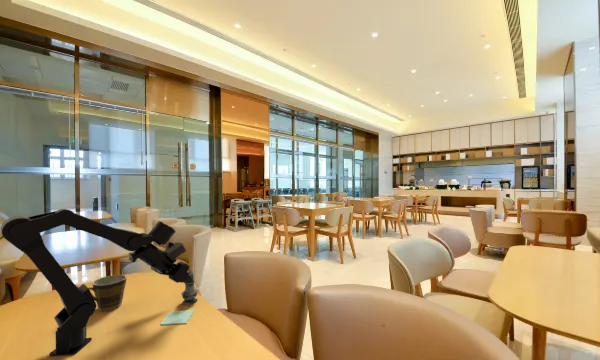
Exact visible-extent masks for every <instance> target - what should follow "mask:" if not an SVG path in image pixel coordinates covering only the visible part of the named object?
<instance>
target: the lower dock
mask: <svg viewBox="0 0 600 360" xmlns="http://www.w3.org/2000/svg"><path fill="white" fill-rule="evenodd" d="M194 312H195V310H194V309H191V310H190V309H189V310H188V309H187V310H173V311H172V310H171V311H170V312H169V313H168V314H167V315H166V316H165V318H164V319H163V320H162V322H161V323H160V326H165V325H166V326H169V325H186V324H188V322H189V321H190V319H191V317H192V316H193V314H194Z"/></svg>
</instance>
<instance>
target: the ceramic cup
mask: <svg viewBox="0 0 600 360" xmlns="http://www.w3.org/2000/svg"><path fill="white" fill-rule="evenodd" d="M126 284H127V275H126V274H113V275H107V276H104V277H100V278H98V279H95V280H93V281H92V286H91V287H90V286H89V287H88V288H89V290H90V291H92V292H93V293H94V296H95V297H96V298H97V300H95V302H96V306H97V309H98V311H99V312H110V311H113V310H116V309H118V308H120V306H122V304H123V299H124V294H125V289H126Z"/></svg>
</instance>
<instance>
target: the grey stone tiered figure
mask: <svg viewBox="0 0 600 360" xmlns="http://www.w3.org/2000/svg"><path fill="white" fill-rule="evenodd" d="M188 273H189V275H190V276H191V278H192V279H193V282H192V283H184V284H185V285H184V287H185V288H184V290H183V291H182V292H180V293H181V296H182V298H183V301H182V302H181V303H182V305H185V306H190V305H193V304H194V305H195V304H197V302H198V298H196V297H197V296H198V292H199V290H198V289H196V288H195V282H196V281H195V279H194V277H195V275H194V272H192V271H191V269H189V270H188Z"/></svg>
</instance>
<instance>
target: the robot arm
mask: <svg viewBox="0 0 600 360" xmlns="http://www.w3.org/2000/svg"><path fill="white" fill-rule="evenodd" d="M63 225H65V226H67V227H71V228H74V229H77V230H79V231H82V232H85V233H88V234H90V235H94V236H97V237H100V238H103V239H106V240H107V241H109V242H110V243H112V244H115V245H116V246H118V247H119V248H122V249H124V250H126V251H128V252H129V253H128V256H129V257H128V260H129V262H131V263H135V262H137V260H138V259H139V260H140V261H142V262H144V264H146V265H147V266H149V267H150V269H151V271H154V272H155V273H157V274H160V275H164V276H168V279H169V280H170V281H173V282H175V283H178V284H179V283H181V284H182V283H184V284H185V283H192V282H193V279H192V278H191V276H190V275H189V273H188V272H189V270H190V268H191V266H190V265H189V264H187V262H183V261H178V262H177V260H178V257H179V256H182V254H184V253H186V252H187V250H186V247H185V246H184V244H183V243H182V242H179V241H178V242H172V241H170V239H171V238H172V237H173V236H174V235H175V234H176V233H177V232H176V229H174V228H173V227H172V226H169V225H167V224H166V223H164V222H163V221H158V222H157V223H155V225H154V227H153V228H152V229H151V230H150V231H149V232H148V233H146V232H140V233H138V232H137V231H133V230H129V229H123V228H118V227H113V226H110V225H107V224H105V223H101V222H99V221H97V220H94V219H91V218H88V217H86V216H83V215H81V214H78V213H76V212H74V211H73V210H71V209H66V208H60V209H57V210H54V211H50V212H45V213H40V214H39V213H38V214H36V215H32V216H31V215H30V216H21V215H19V216H17V215H16V216H11V217H9V218H7V219H6V220H4V221H3V222H2V224H1V226H0V232H1V235H2V238H4V239H5V240H6V241H7V242H9V243H10V244H11V245H13V246H14V247H15V248H16V249H18V250H19V251H21V252H22V253H24V255H26V256H27V257H28V258H29V259H30V260H31V262H32V263H33V264H34V265H35V266H36V268H37V269H38V271H40V272H41V274H42V275H43V276H44V278H45V279H46V280H47V281H48V282H49V284H50V285H51V286H52V287H53V289H54V290H55V291H56V293H57V294H58V296H59V298H60V301H61V303H62V305H63V308H62V309H61V310H60V311H59V312H58V313H56V314H55V316H54V317H53V319H54V321H55V323H56V324H57V326H58V327H57V328H56V331H55V348H54V349H53V350H52V351H50V352H49V356H65V355H66V356H67V355H75V354H77V353H78V352H80V351H81V349H83V348H84V347H85V346H86V345H88V344H89V343H90V342H91V341H92V338H93V337H87V325H88V322H89V320H90V317H91V316H92V315H93V314H94V313H95V311H96V309H97V308H98V306H97V302H96V301H95V300H97V298H96V297H95V294H93V293H92V292H91V290H90V289H89V287H88V286H87V285H86V284H85V283H82V284H81V285H80V286H77V284H75V282H74V281H73V280H72V279H71V278H70V276H69V275H68V274H67V273H66V272H65V270H64V269H63V267H62V266H61V264H59V262H58V261H57V260H56V258H55V257H54V256H53V255H52V253H51V252H50V251H49V250H48V248H47V247H46V244H45V242H44V239H43V237H42V235H41V233H43V232H46V231H50V230H52V229H55V228H57V227H60V226H63ZM155 245H156V246H155ZM157 246H158V247H161V246H165V250H162V249H160V248H158V247H157ZM176 262H177V263H176Z"/></svg>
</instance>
